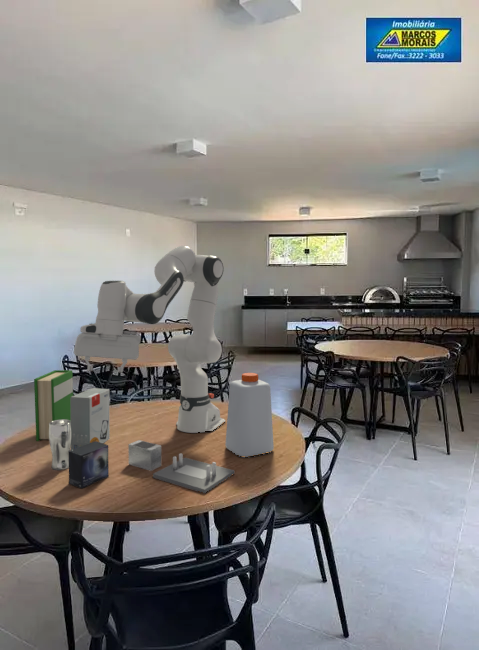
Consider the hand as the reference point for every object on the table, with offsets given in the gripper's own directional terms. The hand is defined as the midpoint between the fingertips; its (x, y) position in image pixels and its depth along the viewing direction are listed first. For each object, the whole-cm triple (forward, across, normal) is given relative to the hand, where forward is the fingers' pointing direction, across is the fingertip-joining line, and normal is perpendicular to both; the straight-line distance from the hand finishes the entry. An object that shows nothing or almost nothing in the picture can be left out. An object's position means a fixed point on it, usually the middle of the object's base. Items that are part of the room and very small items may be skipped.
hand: (105, 371), depth 148 cm
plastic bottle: (+26, -54, 0) cm, 59 cm away
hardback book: (+30, +12, -44) cm, 54 cm away
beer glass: (+33, +10, -8) cm, 35 cm away
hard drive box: (+30, 0, -26) cm, 39 cm away
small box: (+33, +2, +6) cm, 34 cm away
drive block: (+30, -16, 0) cm, 34 cm away
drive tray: (+30, -28, +15) cm, 44 cm away
